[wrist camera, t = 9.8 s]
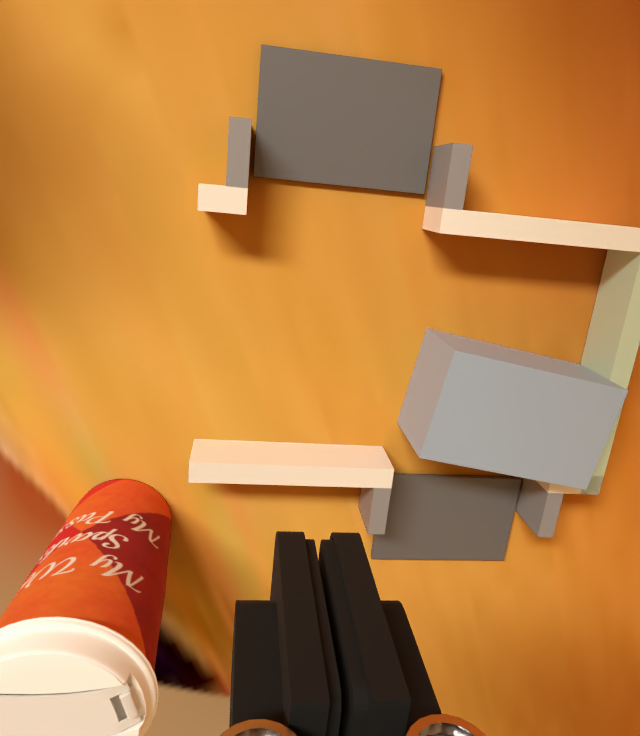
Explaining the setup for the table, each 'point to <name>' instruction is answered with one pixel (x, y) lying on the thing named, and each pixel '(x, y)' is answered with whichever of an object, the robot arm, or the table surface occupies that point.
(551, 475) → the block
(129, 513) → the paper cup
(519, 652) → the table surface
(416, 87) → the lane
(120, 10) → the table surface
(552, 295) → the table surface
